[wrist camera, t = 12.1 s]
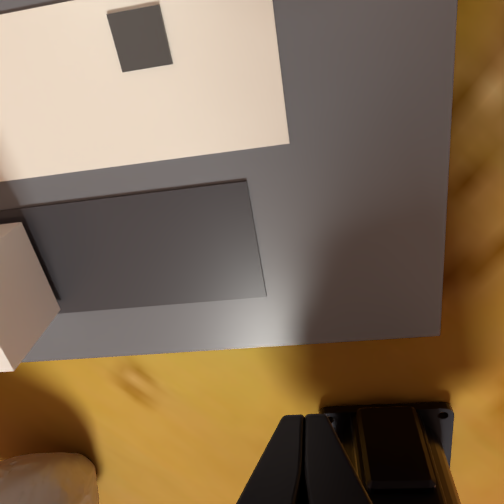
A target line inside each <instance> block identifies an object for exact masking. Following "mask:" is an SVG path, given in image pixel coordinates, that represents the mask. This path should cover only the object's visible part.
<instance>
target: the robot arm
mask: <svg viewBox="0 0 504 504" xmlns="http://www.w3.org/2000/svg"><path fill="white" fill-rule="evenodd" d="M441 412H442V413H441ZM328 416H330V417H328ZM453 421H454V413H453V410H452V407H451V406H450V404H448V403H446V402H428V403H404V404H381V405H357V406H333V407H324V408H322V409H321V410H320V411H319V414H308V415H306V416H305V417H304V416H303V415H286V416H284V417H282V419H281V420H280V422H279V424H278V426H277V428H276V430H275V432H274V434H273V436H272V437H271V439H270V441H269V443H268V445H267V447H266V449H265V451H264V452H263V454H262V456H261V458H260V460H259V462H258V464H257V466H256V467H255V469H254V471H253V473H252V475H251V477H250V479H249V481H248V482H247V484H246V486H245V488H244V490H243V492H242V494H241V496H240V498H239V499H238V501H237V503H236V504H461V502H460V499H459V496H458V493H457V490H456V487H455V484H454V481H453V477H452V474H451V471H450V459H451V446H452V434H453Z"/></svg>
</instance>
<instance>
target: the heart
mask: <svg viewBox="0 0 504 504" xmlns="http://www.w3.org/2000/svg"><path fill="white" fill-rule="evenodd" d="M96 481H97V476H96V470H95V466H94V464H93V463H92V462H91V461H90V460H89V459H88V458H86V457H85V456H83V455H82V454H78V453H65V452H54V453H34V454H27V455H20V456H16V457H12V458H9V459H6V460H4V461H0V504H99V494H98V486H97V482H96Z"/></svg>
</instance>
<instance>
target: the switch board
mask: <svg viewBox="0 0 504 504" xmlns="http://www.w3.org/2000/svg"><path fill="white" fill-rule="evenodd" d="M457 3H458V0H0V224H8V223H17V222H22V224H23V227H24V229H25V231H26V233H27V236H28V238H29V240H30V242H31V245H32V247H33V249H34V251H35V253H36V256H37V258H38V260H39V262H40V265H41V267H42V269H43V271H44V274H45V276H46V278H47V280H48V283H49V285H50V287H51V289H52V292H53V294H54V296H55V298H56V301H57V303H58V305H59V307H60V309H61V310H60V311H59V312H58V314H57V315H56V316H55V318H54V319H53V320H52V322H51V323H50V324H49V326H48V327H47V328H46V330H45V331H44V332H43V334H42V335H41V336H40V338H39V339H38V340H37V341H36V343H35V344H34V345H33V347H32V348H31V349H30V351H29V352H28V353H27V355H26V356H25V357H24V359H23V360H22V361H21V362H35V361H50V360H66V359H82V358H98V357H113V356H129V355H145V354H161V353H176V352H192V351H208V350H224V349H239V348H255V347H271V346H286V345H302V344H318V343H334V342H349V341H365V340H381V339H397V338H412V337H428V336H440V329H441V309H442V290H443V271H444V252H445V233H446V213H447V194H448V175H449V156H450V137H451V118H452V98H453V79H454V60H455V41H456V22H457Z"/></svg>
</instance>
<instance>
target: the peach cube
mask: <svg viewBox="0 0 504 504" xmlns="http://www.w3.org/2000/svg"><path fill="white" fill-rule="evenodd" d="M60 310H61V309H60V307H59V305H58V303H57V301H56V298H55V296H54V294H53V292H52V289H51V287H50V285H49V283H48V280H47V278H46V276H45V274H44V271H43V269H42V267H41V265H40V262H39V260H38V258H37V256H36V253H35V251H34V249H33V247H32V245H31V242H30V240H29V238H28V236H27V233H26V231H25V229H24V227H23V224H22V222H17V223H8V224H0V372H10V371H15V369H16V368H17V367H18V365H19V364H20V363H21V361H22V360H23V359H24V357H25V356H26V355H27V353H28V352H29V351H30V349H31V348H32V347H33V345H34V344H35V343H36V341H37V340H38V339H39V338H40V336H41V335H42V334H43V332H44V331H45V330H46V328H47V327H48V326H49V324H50V323H51V322H52V320H53V319H54V318H55V316H56V315H57V314H58V312H59V311H60Z"/></svg>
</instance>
